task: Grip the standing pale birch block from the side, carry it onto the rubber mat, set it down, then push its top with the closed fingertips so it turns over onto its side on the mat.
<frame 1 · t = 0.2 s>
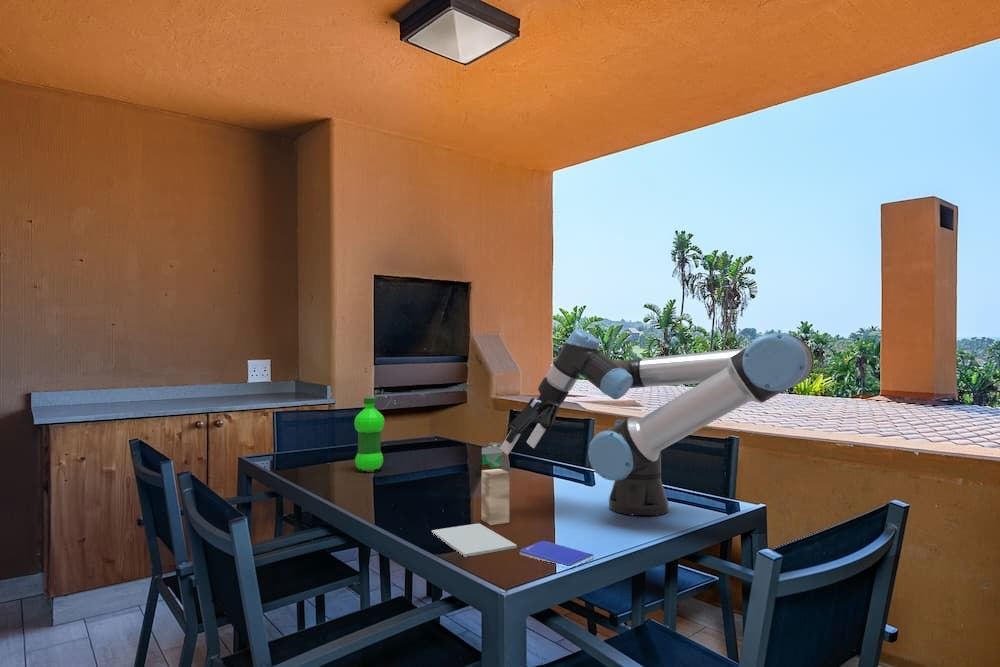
hand: (517, 448, 160), 15 cm above the table, tool tilted 35°, fingers open, 13 cm apart
plastic bottle: (369, 471, 205), on the table
rubber mat: (472, 540, 129), on the table
food container: (494, 475, 198), on the table
birch block: (495, 521, 144), on the table
hard drive: (556, 560, 119), on the table
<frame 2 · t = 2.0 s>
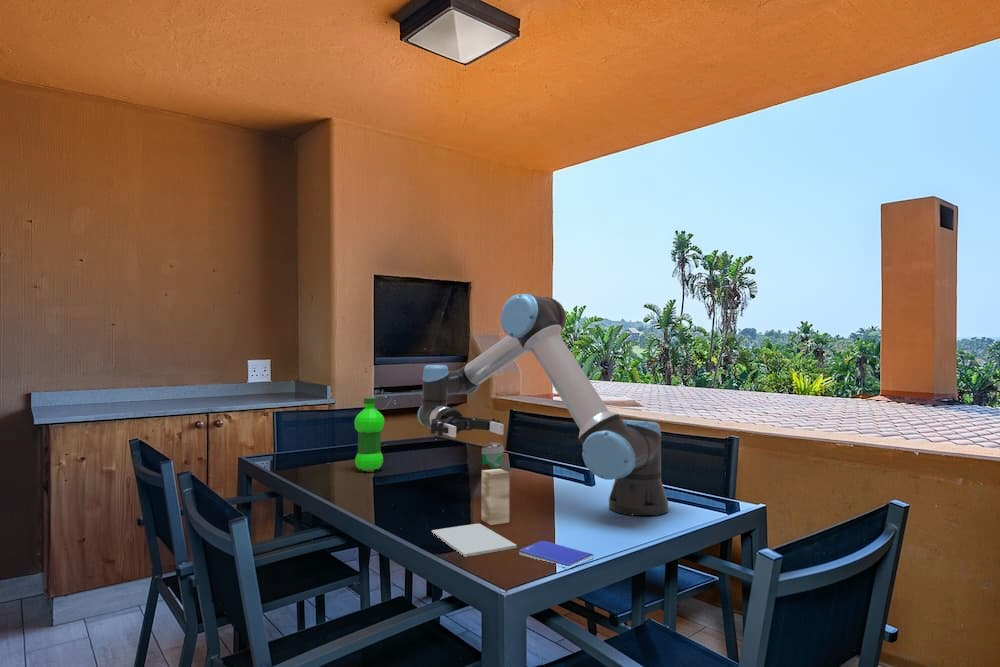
hand: (479, 430, 153), 21 cm above the table, tool horizontal, fingers open, 13 cm apart
nothing on the table moved.
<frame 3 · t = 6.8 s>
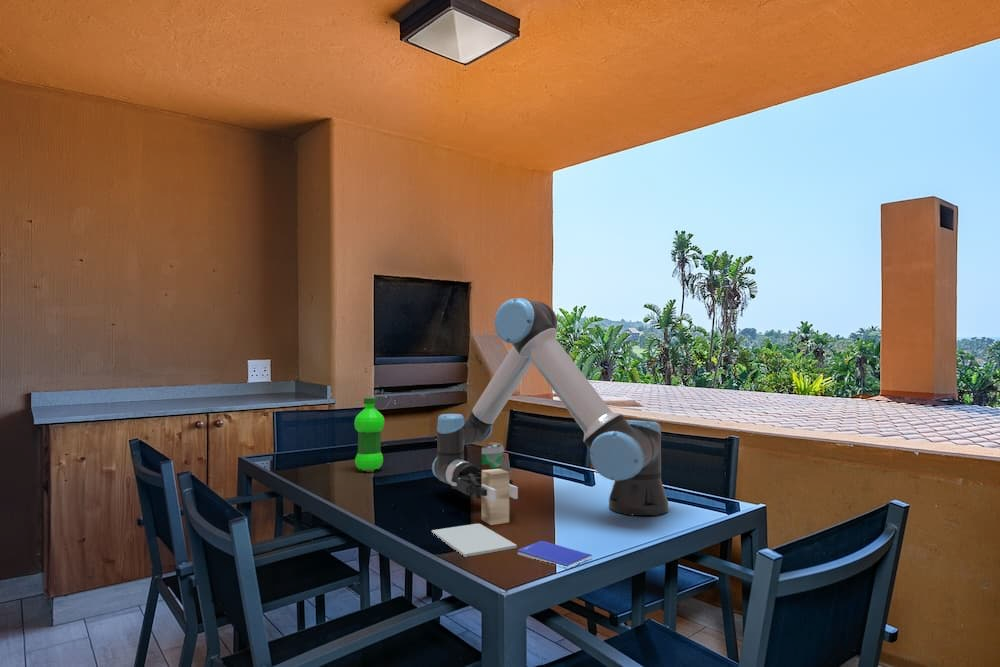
hand: (505, 494, 140), 8 cm above the table, tool horizontal, fingers closed on birch block, 5 cm apart
birch block: (495, 521, 144), on the table, touching gripper
everything else where it was.
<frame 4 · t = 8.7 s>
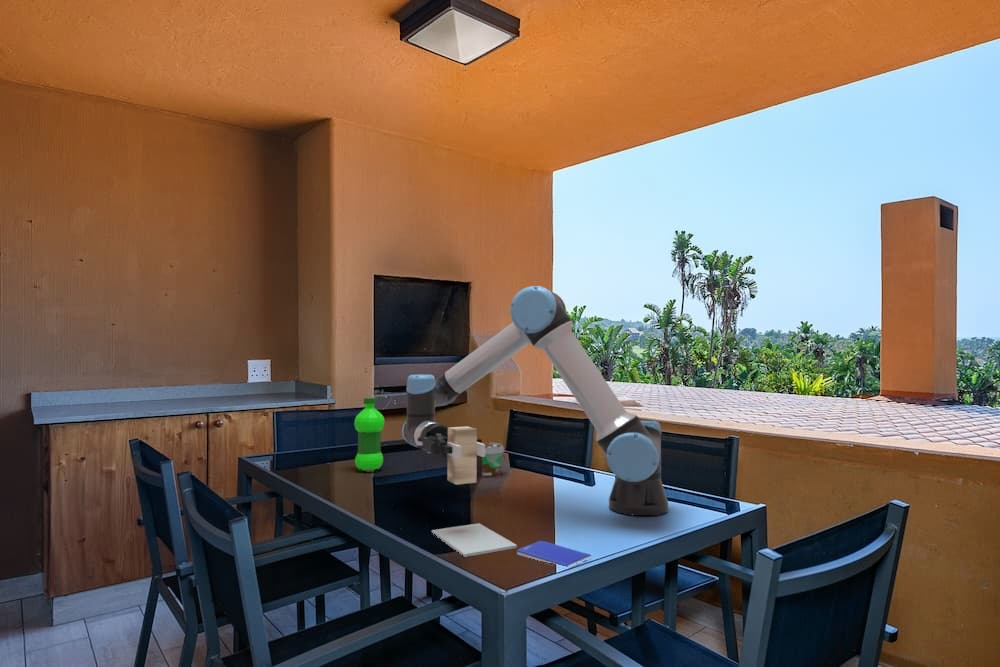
hand: (471, 451, 130), 19 cm above the table, tool horizontal, fingers closed on birch block, 5 cm apart
birch block: (461, 481, 135), point 12 cm above the table, touching gripper
everything else where it was.
when the fingers open (9 cm above the table, at t = 10.8 s): birch block stays where it is, resting on rubber mat.
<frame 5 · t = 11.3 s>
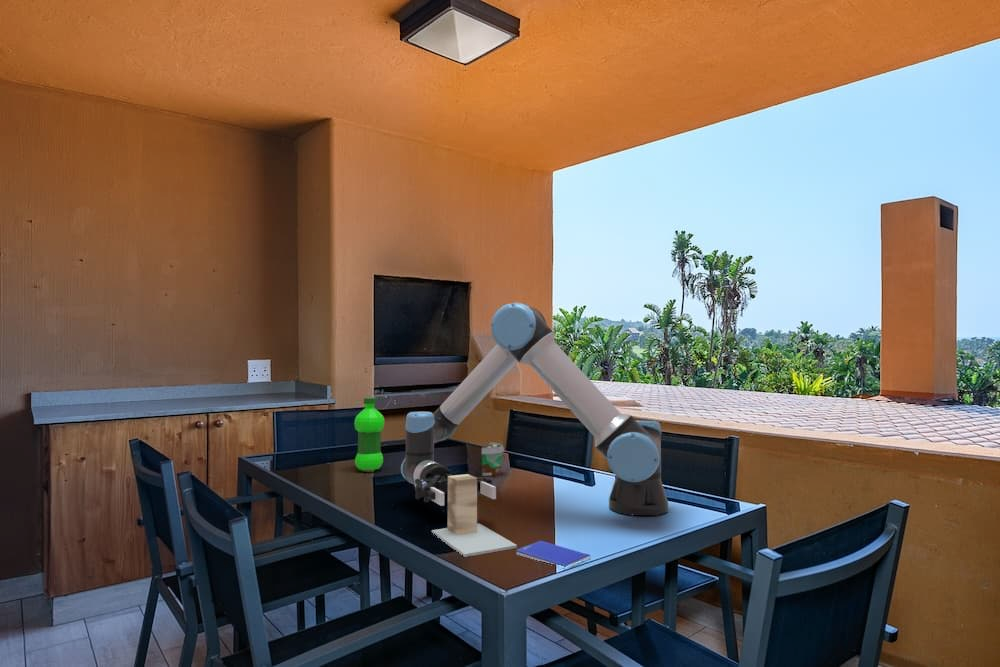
hand: (469, 496, 131), 9 cm above the table, tool horizontal, fingers open, 12 cm apart
birch block: (462, 530, 134), point 1 cm above the table, touching rubber mat
everything else where it was.
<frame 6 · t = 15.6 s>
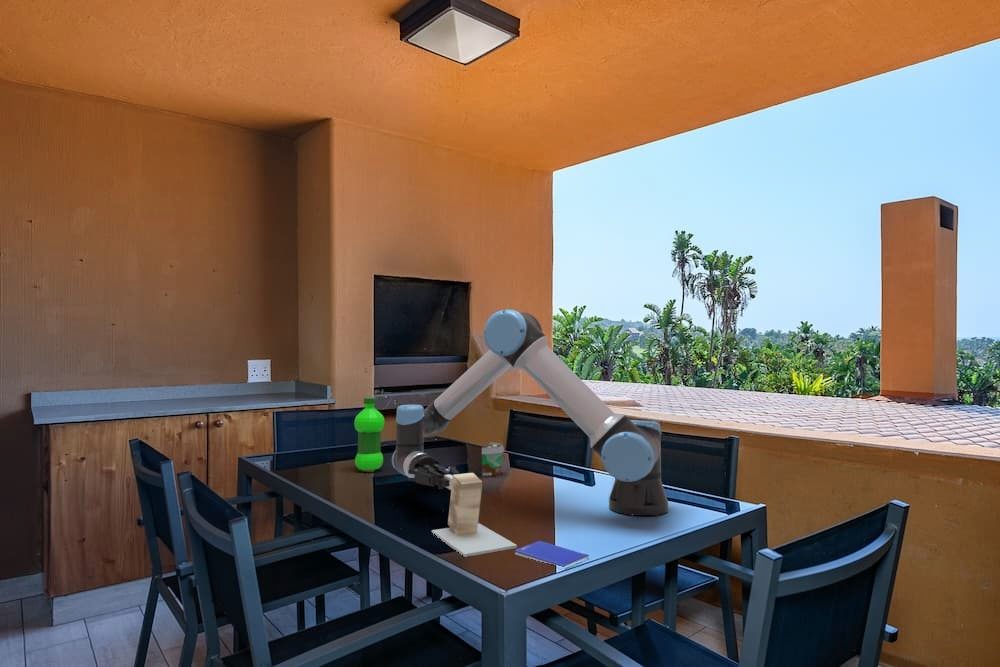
hand: (458, 485, 135), 11 cm above the table, tool horizontal, fingers closed
birch block: (462, 528, 134), point 1 cm above the table, tilted 13°, touching rubber mat
everything else where it was.
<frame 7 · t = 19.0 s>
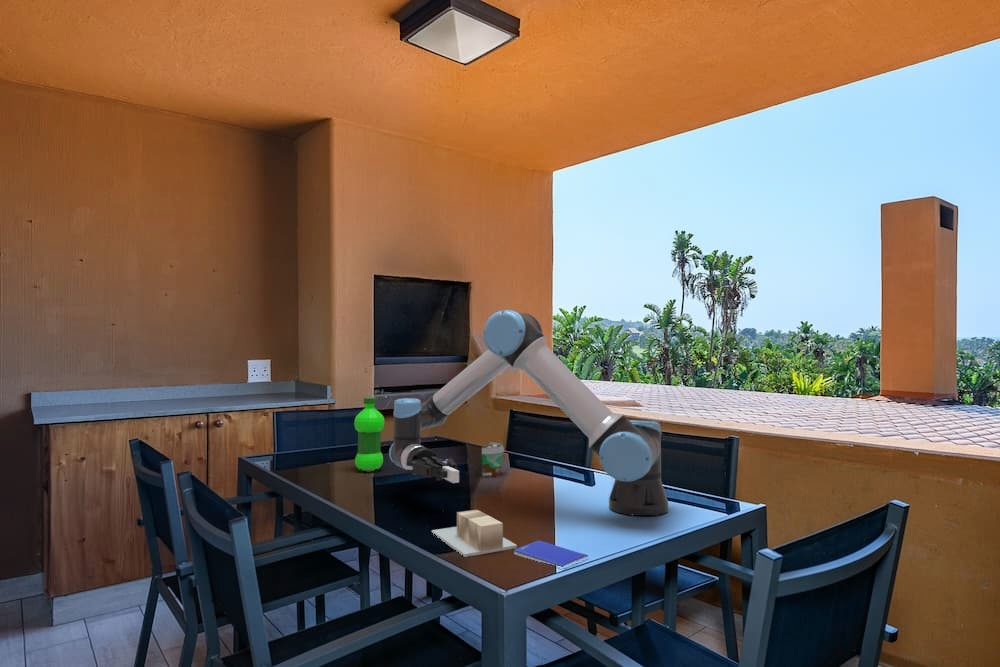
hand: (456, 476, 137), 12 cm above the table, tool horizontal, fingers closed
birch block: (466, 522, 132), point 3 cm above the table, tilted 90°, touching rubber mat
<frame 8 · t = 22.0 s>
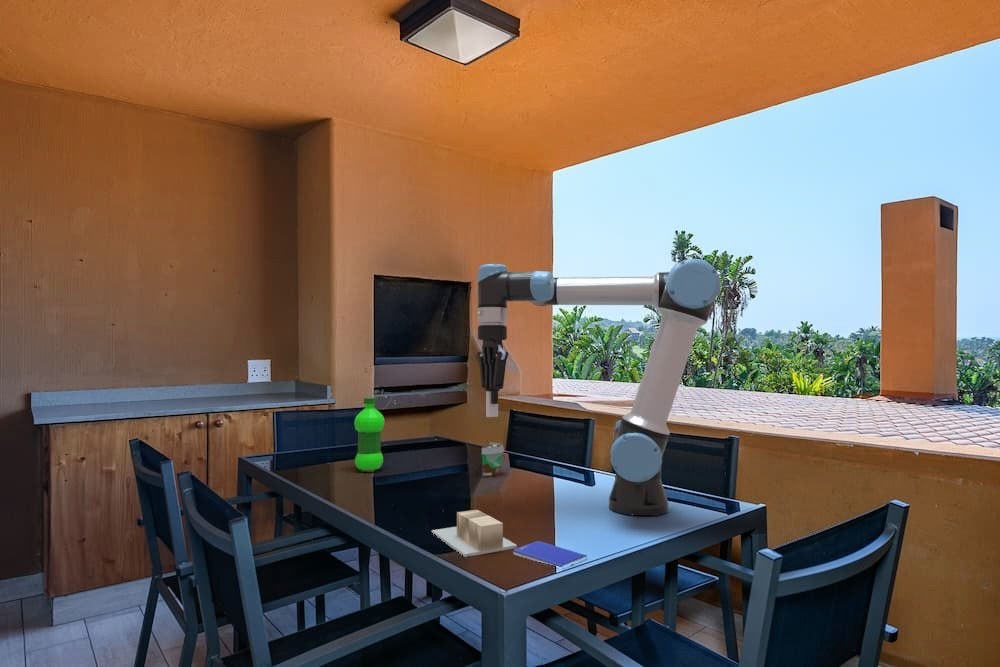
hand: (492, 416, 153), 24 cm above the table, tool pointing down, fingers closed
at the end: birch block tilted 90°; birch block 3.0 cm from the rubber mat (horizontally); the gripper is holding nothing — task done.
